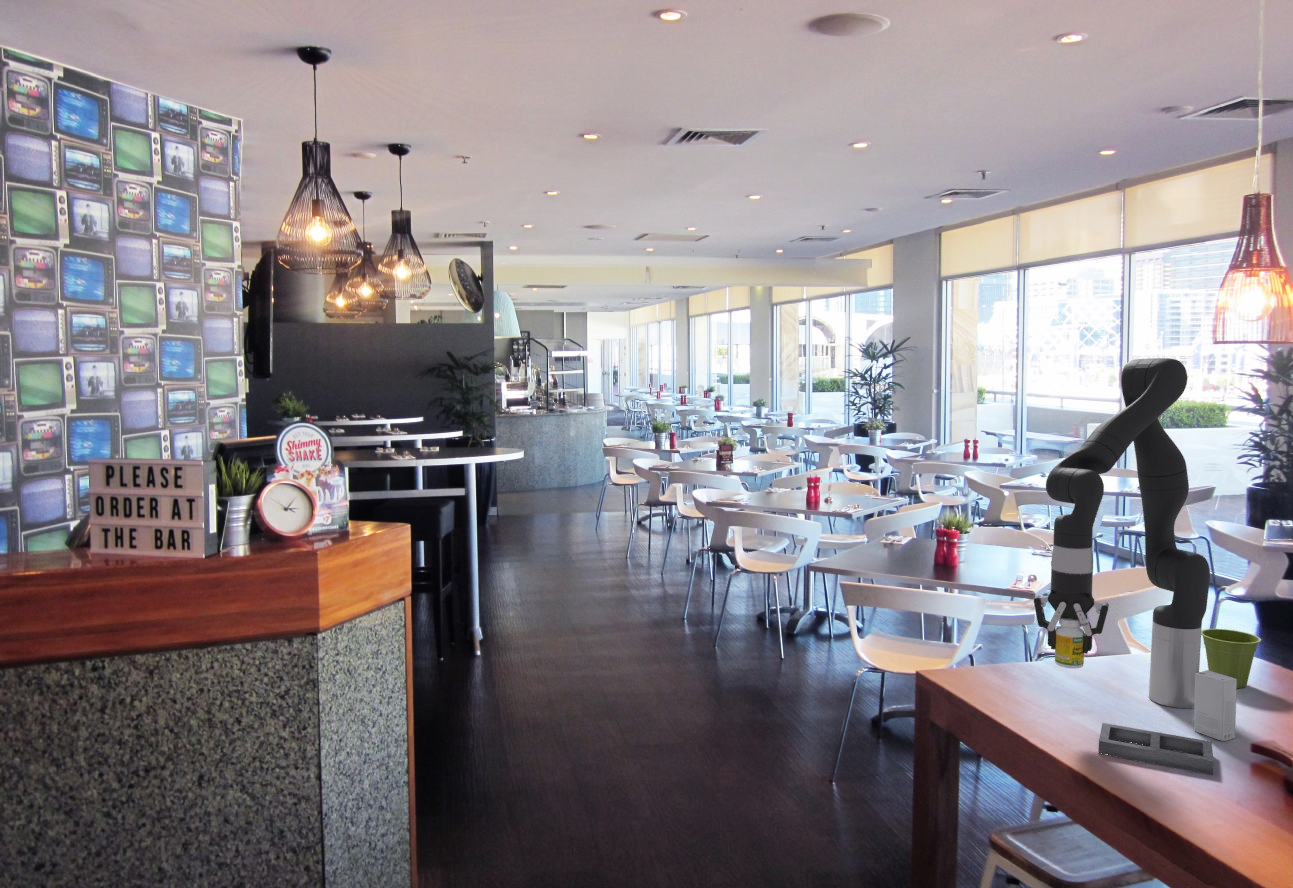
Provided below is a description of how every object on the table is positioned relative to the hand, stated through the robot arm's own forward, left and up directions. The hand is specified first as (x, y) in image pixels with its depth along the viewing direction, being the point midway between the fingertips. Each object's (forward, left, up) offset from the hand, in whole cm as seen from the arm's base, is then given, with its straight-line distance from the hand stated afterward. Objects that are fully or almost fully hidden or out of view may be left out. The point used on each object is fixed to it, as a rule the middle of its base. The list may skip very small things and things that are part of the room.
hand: (1069, 649), depth 187 cm
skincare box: (-10, +26, -16) cm, 32 cm away
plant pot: (-46, +30, -16) cm, 57 cm away
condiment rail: (+6, +16, -16) cm, 23 cm away
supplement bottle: (0, 0, -3) cm, 3 cm away
